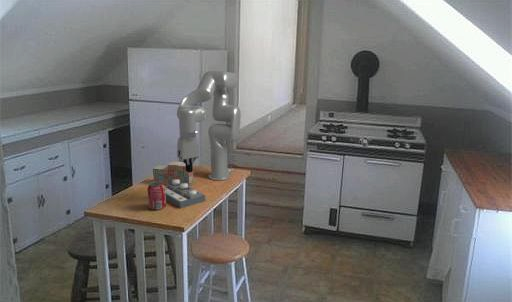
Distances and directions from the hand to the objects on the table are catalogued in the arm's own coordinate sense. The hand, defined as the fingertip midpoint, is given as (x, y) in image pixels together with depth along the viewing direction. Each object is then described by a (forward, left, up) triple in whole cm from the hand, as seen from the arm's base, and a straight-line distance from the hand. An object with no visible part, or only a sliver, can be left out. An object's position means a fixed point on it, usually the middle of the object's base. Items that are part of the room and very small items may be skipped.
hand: (189, 171), depth 192 cm
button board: (+2, -6, -15) cm, 16 cm away
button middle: (0, -6, -10) cm, 12 cm away
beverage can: (+17, -2, -15) cm, 23 cm away
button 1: (0, -14, -10) cm, 17 cm away
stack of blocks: (-6, -26, -15) cm, 31 cm away
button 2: (0, +2, -12) cm, 12 cm away
